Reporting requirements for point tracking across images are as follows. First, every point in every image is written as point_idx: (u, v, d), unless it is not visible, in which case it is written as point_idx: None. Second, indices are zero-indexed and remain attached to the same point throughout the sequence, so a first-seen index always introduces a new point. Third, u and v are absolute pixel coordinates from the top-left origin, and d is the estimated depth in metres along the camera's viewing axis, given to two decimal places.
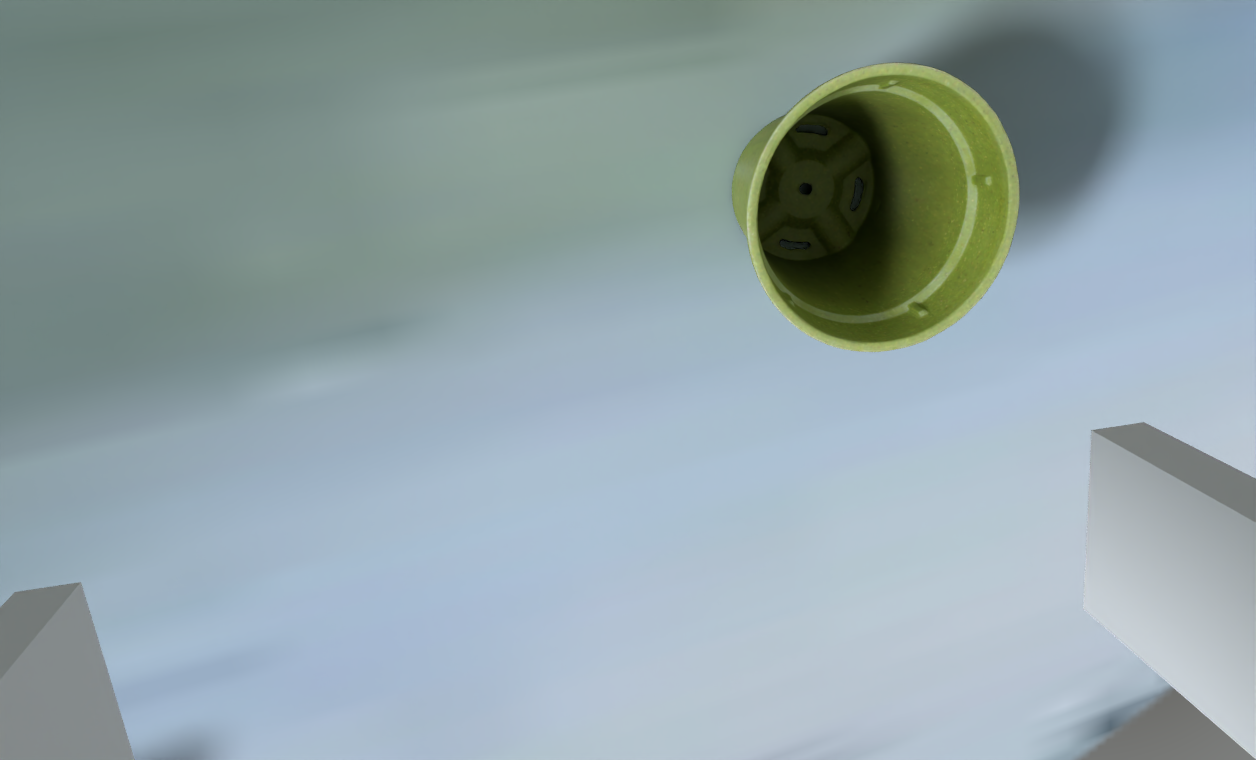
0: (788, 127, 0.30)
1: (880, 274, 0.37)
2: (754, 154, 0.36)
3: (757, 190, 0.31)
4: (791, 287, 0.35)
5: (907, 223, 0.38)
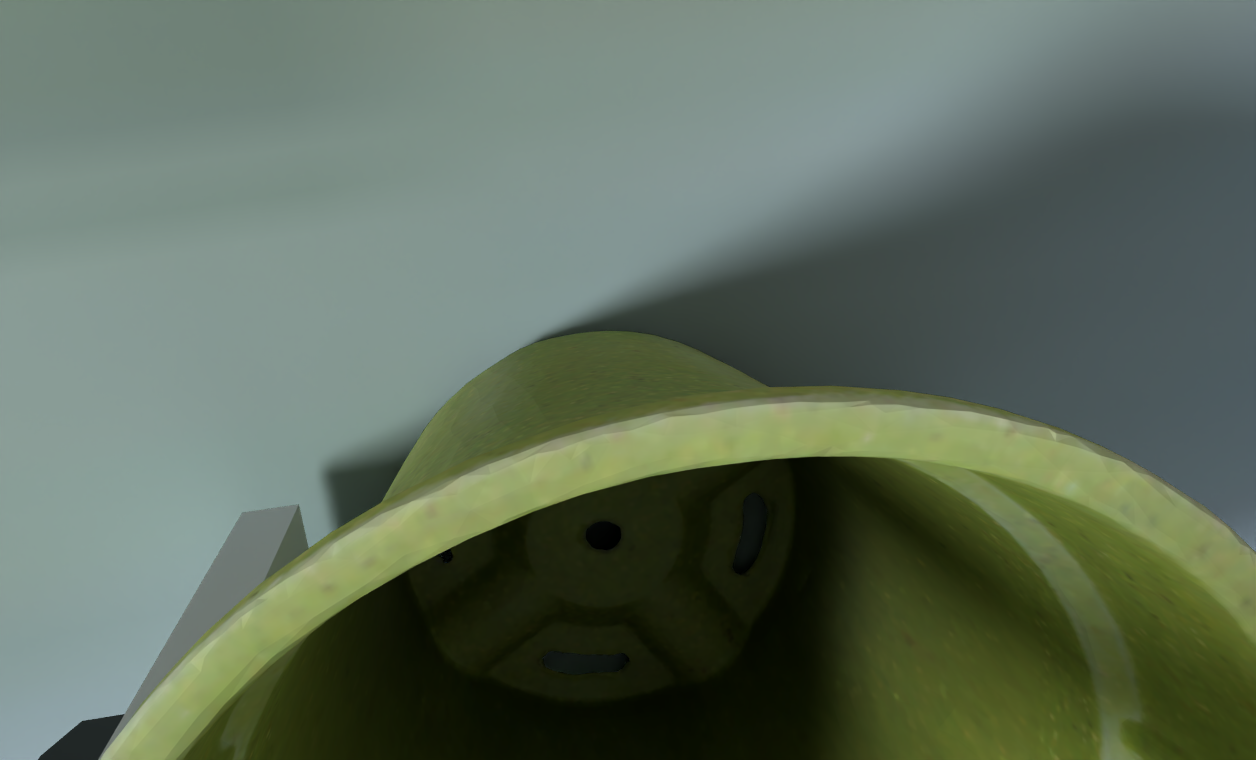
0: (167, 759, 0.05)
1: None
2: None
3: None
4: None
5: (879, 686, 0.13)
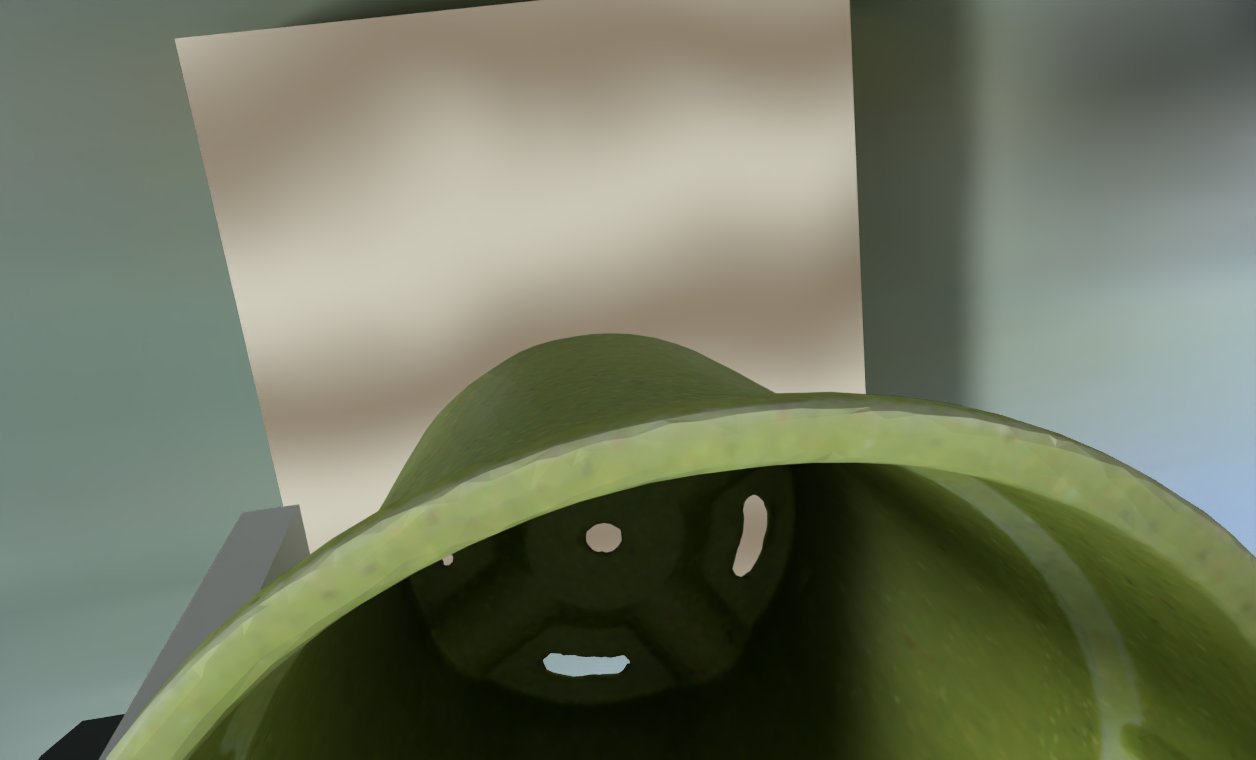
0: None
1: None
2: None
3: None
4: None
5: (879, 688, 0.13)
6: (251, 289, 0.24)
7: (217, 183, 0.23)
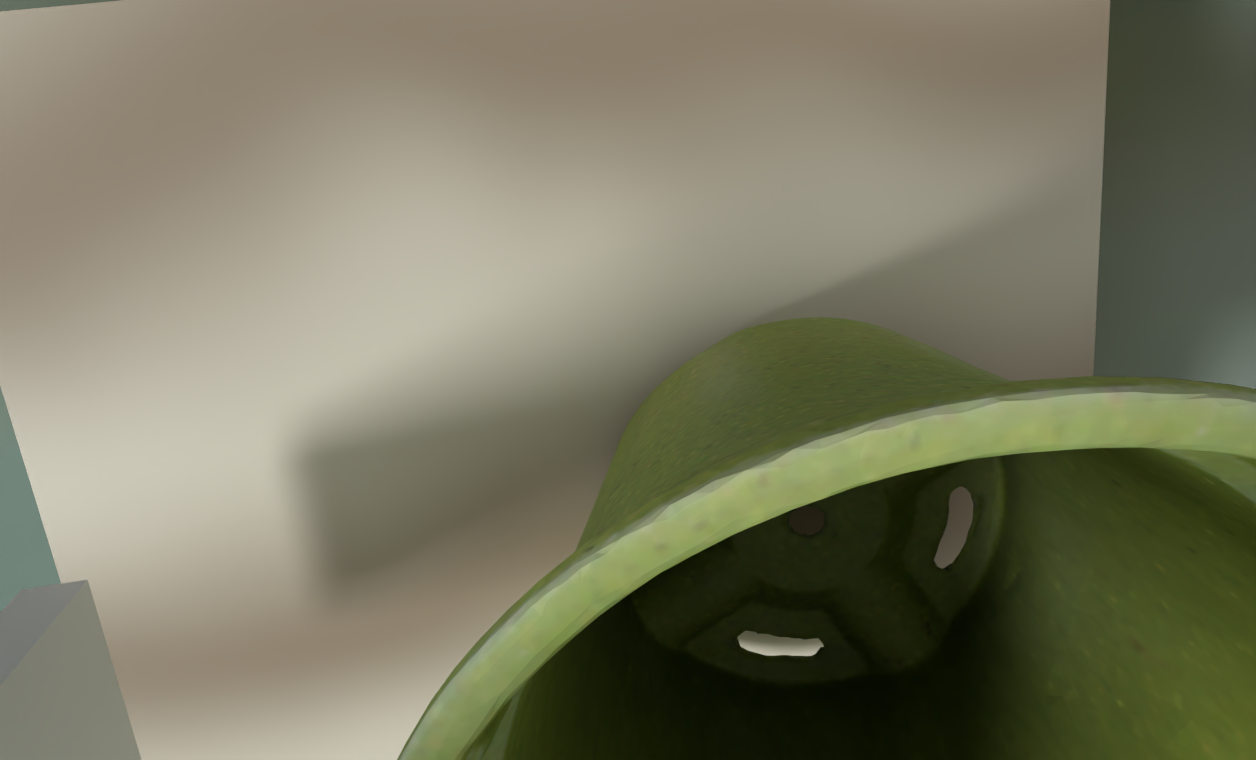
0: (502, 693, 0.06)
1: None
2: (594, 508, 0.11)
3: None
4: None
5: (1099, 691, 0.12)
6: (58, 465, 0.14)
7: None
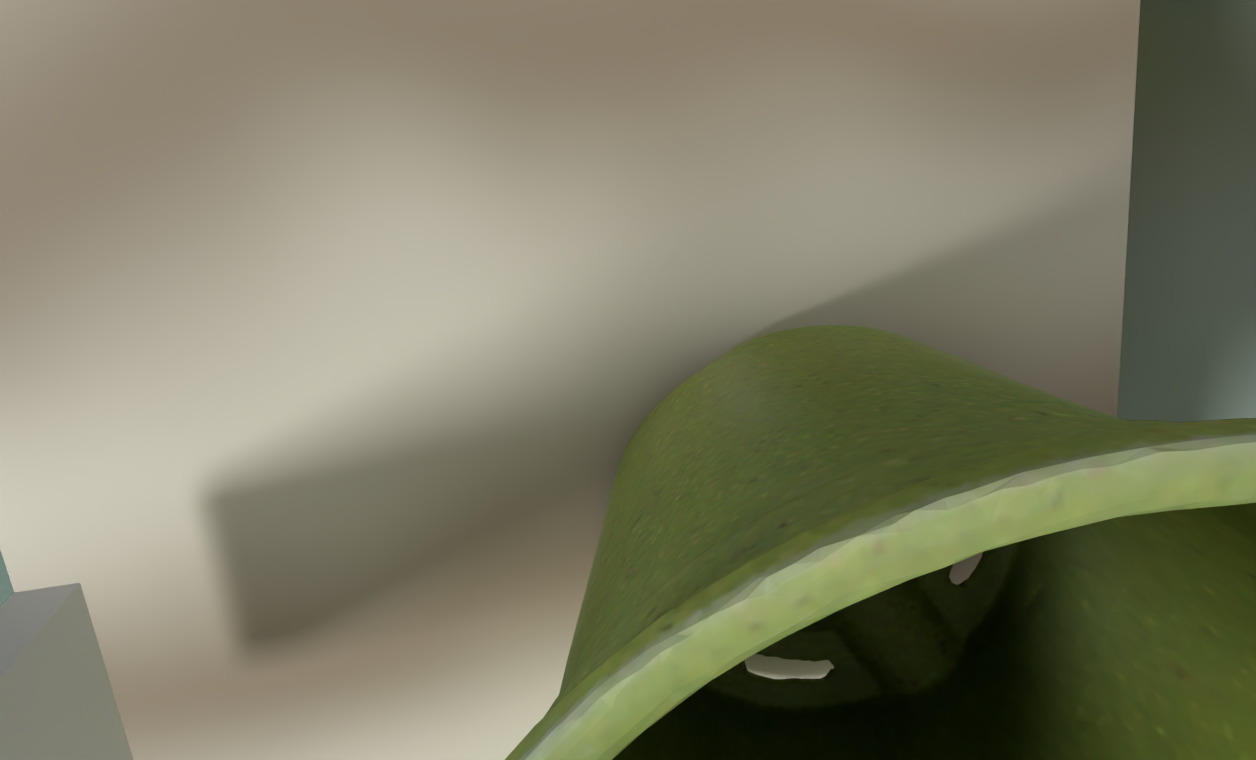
0: None
1: None
2: (608, 538, 0.10)
3: None
4: None
5: (1135, 718, 0.12)
6: (16, 486, 0.13)
7: None
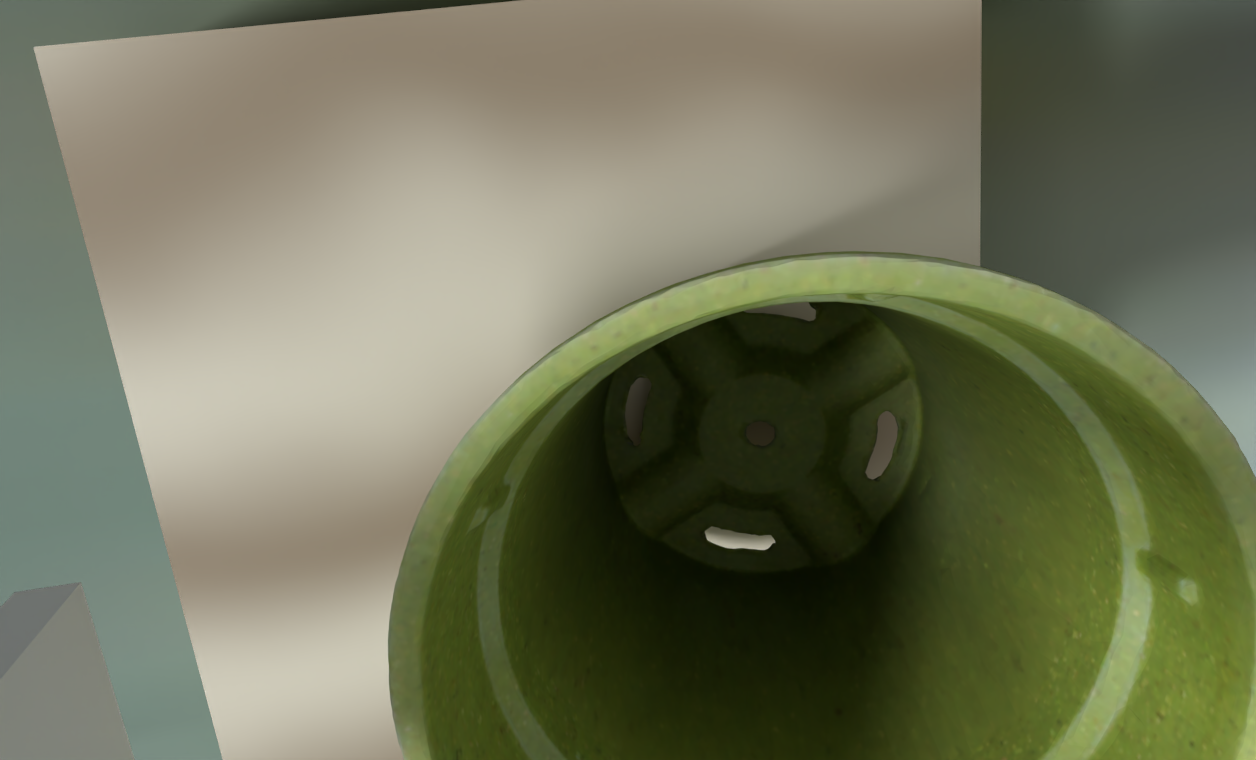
0: (497, 442, 0.10)
1: (893, 689, 0.15)
2: None
3: (411, 615, 0.10)
4: (637, 741, 0.14)
5: (974, 561, 0.16)
6: (151, 393, 0.17)
7: (100, 249, 0.16)
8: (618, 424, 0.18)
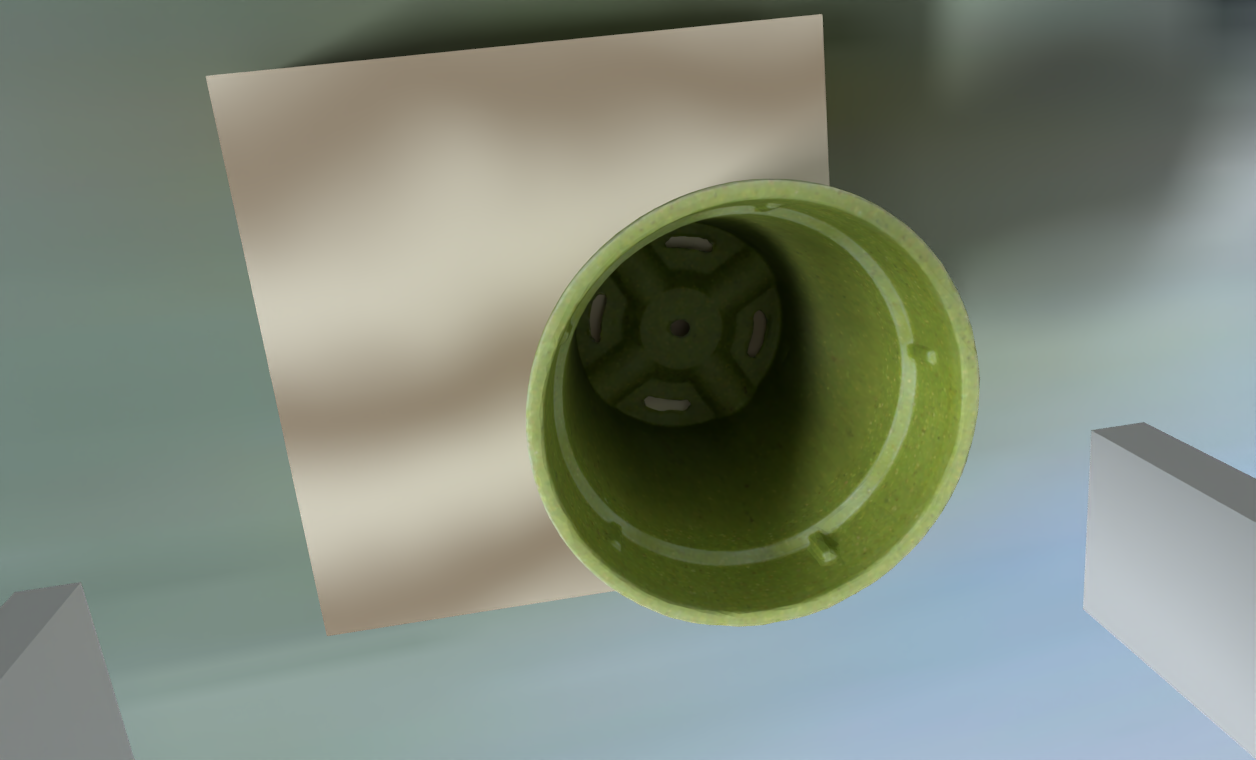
0: (590, 283, 0.18)
1: (778, 468, 0.25)
2: None
3: (541, 384, 0.19)
4: (632, 500, 0.23)
5: (820, 389, 0.25)
6: (272, 304, 0.26)
7: (242, 207, 0.25)
8: (586, 327, 0.27)
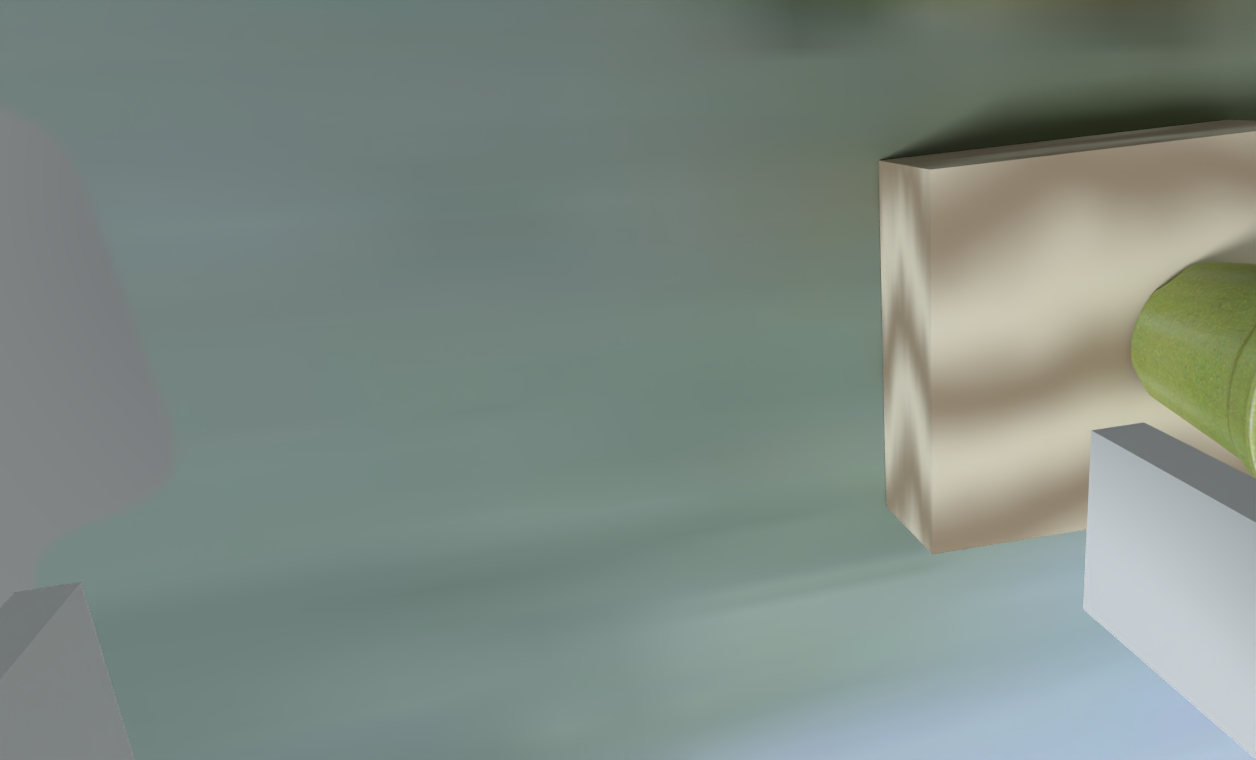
0: None
1: None
2: (1195, 316, 0.35)
3: None
4: (1235, 453, 0.35)
5: None
6: (941, 321, 0.38)
7: (935, 256, 0.37)
8: None
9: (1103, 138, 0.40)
